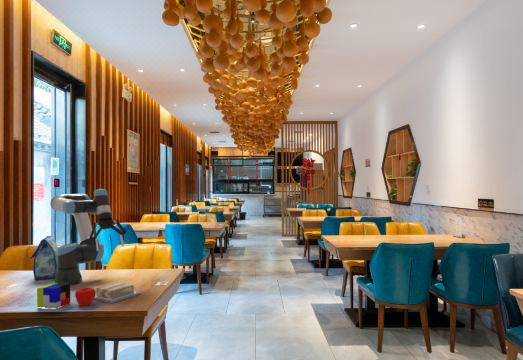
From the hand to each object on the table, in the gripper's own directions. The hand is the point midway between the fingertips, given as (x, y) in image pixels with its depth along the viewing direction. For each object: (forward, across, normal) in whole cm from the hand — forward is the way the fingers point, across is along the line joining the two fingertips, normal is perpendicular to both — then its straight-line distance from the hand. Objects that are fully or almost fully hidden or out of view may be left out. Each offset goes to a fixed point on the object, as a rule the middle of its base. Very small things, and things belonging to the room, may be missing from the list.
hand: (110, 248), depth 215 cm
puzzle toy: (+27, -31, -10) cm, 42 cm away
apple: (+30, -18, -16) cm, 39 cm away
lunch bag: (-6, -32, +62) cm, 70 cm away
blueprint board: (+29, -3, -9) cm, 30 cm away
